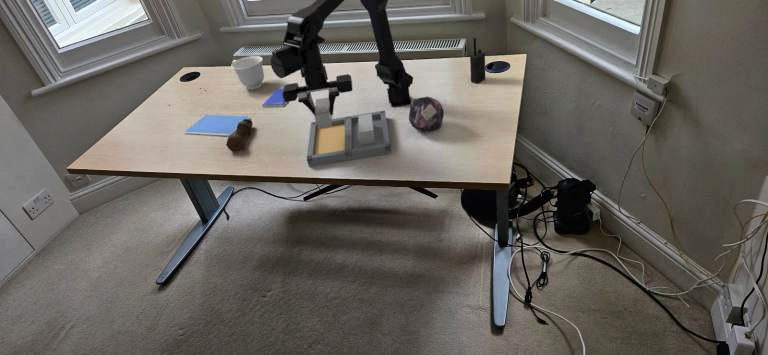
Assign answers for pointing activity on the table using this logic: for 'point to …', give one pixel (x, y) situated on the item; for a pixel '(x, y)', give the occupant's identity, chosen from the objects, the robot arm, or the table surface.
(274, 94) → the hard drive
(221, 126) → the light blue book
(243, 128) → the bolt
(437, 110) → the mineral specimen
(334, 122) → the grey divided tray
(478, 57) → the walkie-talkie
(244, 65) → the teacup
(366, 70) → the table surface
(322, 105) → the block
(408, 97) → the robot arm
